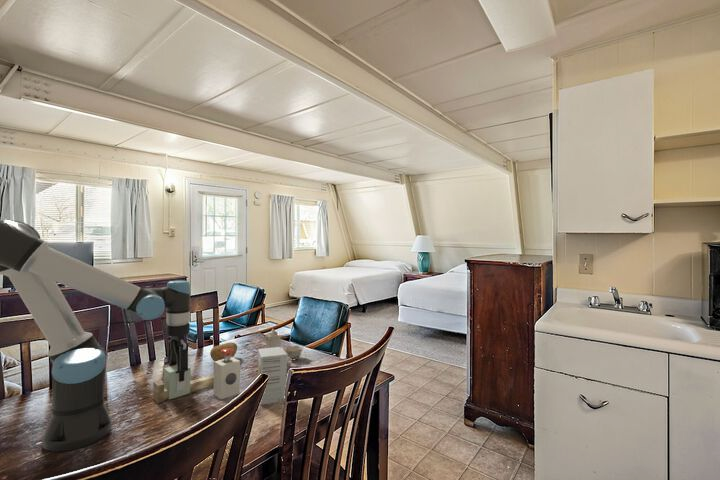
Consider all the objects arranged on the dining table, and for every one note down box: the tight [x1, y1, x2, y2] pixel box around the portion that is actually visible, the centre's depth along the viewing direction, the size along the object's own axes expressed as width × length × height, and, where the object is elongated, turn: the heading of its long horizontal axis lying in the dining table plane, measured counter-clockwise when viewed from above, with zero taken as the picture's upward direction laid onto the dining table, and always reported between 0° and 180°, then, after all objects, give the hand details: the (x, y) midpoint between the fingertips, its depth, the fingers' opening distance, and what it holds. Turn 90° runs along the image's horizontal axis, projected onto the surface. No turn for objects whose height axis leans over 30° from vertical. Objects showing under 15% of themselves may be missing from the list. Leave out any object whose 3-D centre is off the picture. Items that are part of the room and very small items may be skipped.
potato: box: [209, 341, 238, 362], centre depth 159 cm, size 10×14×8 cm
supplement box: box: [257, 346, 288, 406], centre depth 124 cm, size 10×9×17 cm
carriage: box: [163, 365, 191, 400], centre depth 124 cm, size 7×6×10 cm
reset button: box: [221, 348, 234, 363], centre depth 126 cm, size 4×4×4 cm
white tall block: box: [213, 356, 241, 400], centre depth 126 cm, size 7×6×12 cm
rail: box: [152, 373, 214, 404], centre depth 129 cm, size 26×5×6 cm, turn 137°
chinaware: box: [265, 328, 304, 361], centre depth 156 cm, size 28×17×17 cm, turn 170°
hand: (176, 386), depth 124 cm, fingers closed on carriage, 6 cm apart
